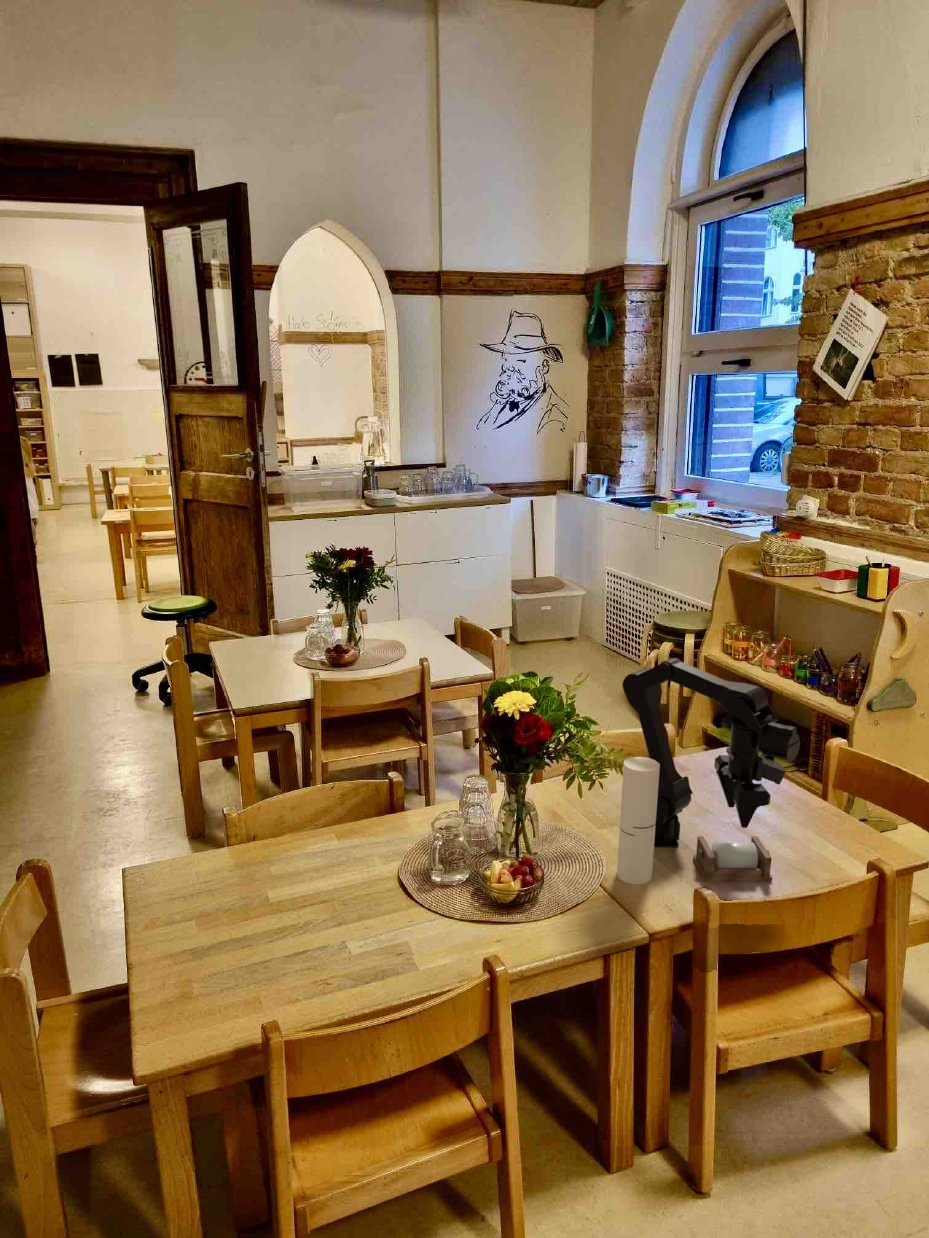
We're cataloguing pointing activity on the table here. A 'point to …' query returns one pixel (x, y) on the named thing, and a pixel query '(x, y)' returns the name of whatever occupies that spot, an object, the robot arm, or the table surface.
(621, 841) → the cylindrical container
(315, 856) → the table surface
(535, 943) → the table surface
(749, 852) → the roll
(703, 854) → the holder
